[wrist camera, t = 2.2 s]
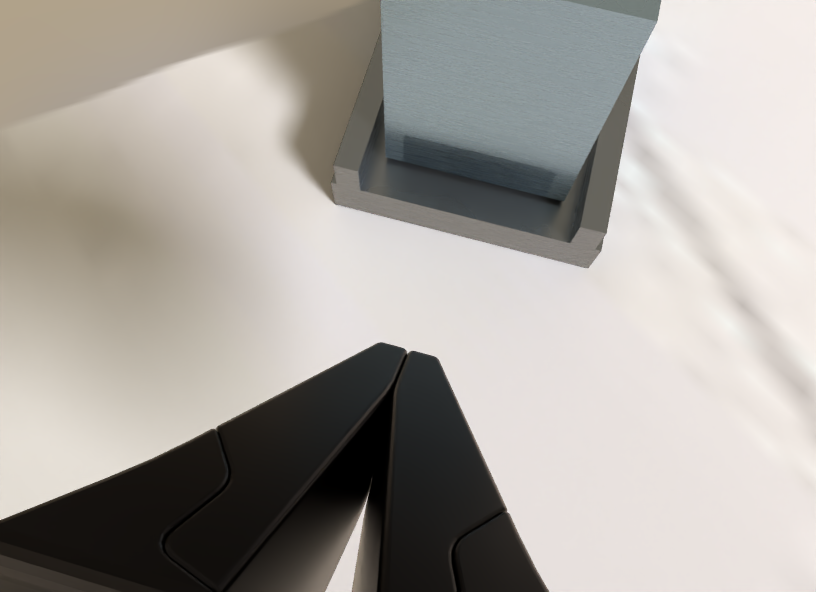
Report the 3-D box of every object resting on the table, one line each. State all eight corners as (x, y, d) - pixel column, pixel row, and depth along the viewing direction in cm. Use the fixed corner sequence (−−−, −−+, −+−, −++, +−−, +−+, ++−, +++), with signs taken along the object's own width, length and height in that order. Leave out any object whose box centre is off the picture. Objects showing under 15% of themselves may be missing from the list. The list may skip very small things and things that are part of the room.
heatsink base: (587, 268, 22) (642, 195, 17) (335, 204, 23) (317, 116, 18) (636, 18, 26) (693, -101, 21) (416, -31, 26) (420, -158, 21)
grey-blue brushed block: (564, 201, 21) (657, 21, 13) (385, 157, 21) (379, -41, 14) (593, 63, 23) (690, -163, 15) (428, 25, 23) (443, -214, 16)
